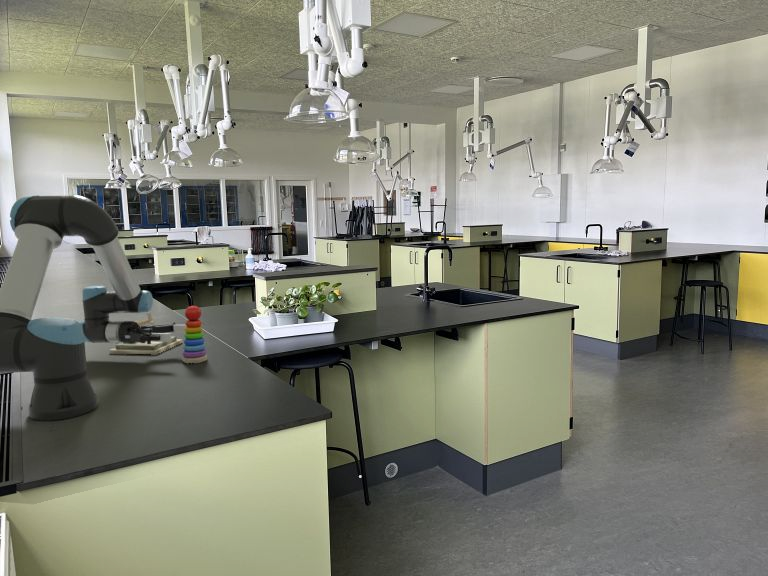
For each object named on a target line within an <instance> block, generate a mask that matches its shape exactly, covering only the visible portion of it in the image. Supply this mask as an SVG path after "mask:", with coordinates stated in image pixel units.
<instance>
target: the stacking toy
mask: <svg viewBox="0 0 768 576" xmlns="http://www.w3.org/2000/svg"><path fill="white" fill-rule="evenodd" d="M201 315H202V310H201V309H200V308H199V306H197V305H196V306H195V305H190V306H188V307H187V308H186V309H185V312H184V316H185V317H186V319H187V320H186V321H185V323H184V325H186V326H187V327H186V328H185V332H186V333H184V338H185V339H184V340H183V343H184V345H183V351H182V352H181V353H182V356H183V357H182V358H181V360H182V362H184V364H189V363H191V365H192V363H194V364H201V363H204V362H206V361H207V360H208V355H207V350H206V344H205V339H204V332H203V327H202V326H201V325H202V320H200V318H201Z"/></svg>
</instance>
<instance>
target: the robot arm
mask: <svg viewBox="0 0 768 576" xmlns="http://www.w3.org/2000/svg"><path fill="white" fill-rule="evenodd" d="M9 218H10V220H9V223H10V225H9V226H10V227H11V230H12V231H13V232H14V235H15V237H16V239H17V243H16V245H15V248H14V251H13V253H12V256H11V259H10V260H9V261H10V262H9V265H8V267H7V270H6V273H5V276H4V278H3V280H2V281H3V282H2V285H1V287H0V374H7V373H28V372H30V373H31V372H32V374H33V385H34V386H33V388H32V389H33V390H32V393H31V398H30V403H29V405H28V415H29V418H30V419H32V420H33V421H34V420H35V421H45V422H46V421H58V420H60V421H61V420H66V419H71V418H74V417H79V416H81V415H85V414H87V413H89V412H92V411H93V410H95V409H97V408H98V404H99V402H98V395H97V394H96V393H95V391H94V388H93V386H92V384H91V382H90V379H89V377H88V367H87V356H86V355H87V354H86V344H85V343H93V344H96V343H99V344H100V343H103V344H105V343H110V344H113V343H114V344H115V345H117V344H119V343H135V342H139V343H146V342H147V344H151V340H152V342H172V340H171V336H172V333H177V334H178V333H180V334H185V333H186V332H185V328H186V327H187V326H186V324H177V322H172V323H161V324H154V325H150V324H146V325H143V326H141V327H139V325H138V324H137V323H136V322H135V321H136V320H110V314H111V315H112V314H140V313H142V314H143V313H148V312H151V310H152V308H153V304H154V303H153V302H154V299H153V294H152V292H150V291H149V290H144V289H143V290H141V287H140V285H139V283H138V281H137V278H136V276H135V274H134V272H133V270H132V267H131V265H130V262H129V260H128V258H127V255H126V253H125V251H124V248H123V247H122V244H121V242H120V240H119V235H120V234H119V231H120V230H119V229H118V226H117V224H116V222H115V221H114V219H113V217H112V216H111V215H110V214H109V213H108V212H107V211H106V210H105V209H104V208H103V207H102V206H101V205H99V204H98V203H96V202H95V201H93V200H92V199H90V198H88V197H84V196H82V195H75V194H73V195H72V194H71V195H31V196H23V197H20V198H19V199H17V200H16V201H15V202H14V203H13V205H12V206H11V209H10V212H9ZM75 236H76V237H81V238H83V240H84V241H85V243H86V244H87V245H89V246H91V247H92V249H93V251H94V252H95V253H94V254H96V256H97V259H98V260H99V263H100V264H101V267H102V268H103V271H104V272H105V274H106V276H107V279H108V280H109V283H110V284H111V287H112V288H113V291H108V288H107V286H106V285H105V286H104V285H91V286H86V287H83V288H82V307H83V308H82V309H83V317H84V320H82V321H81V322H79V321H77V320H75V319H71V318H67V317H66V318H65V317H42V318H41V317H40V318H34V319H32V318H33V314H34V310H35V308H36V306H37V305H36V304H37V301H38V297H39V295H40V292H41V288H42V287H43V283H44V279H45V277H46V272H47V269H48V267H49V263H50V260H51V258H52V257H51V256H52V254H53V251H54V250H55V249H58V248H60V246H61V245H62V241H63V239H64V237H75Z"/></svg>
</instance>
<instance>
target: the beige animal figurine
mask: <svg viewBox="0 0 768 576" xmlns="http://www.w3.org/2000/svg"><path fill="white" fill-rule="evenodd" d="M146 315H147V319H146V320H134V321H135V322H136V323H137V324H138V325H139V327H141V326H147V324H149V325H155V320H154V317H153V315H152V312H151V311H149V312H146Z"/></svg>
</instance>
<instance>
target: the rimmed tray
mask: <svg viewBox="0 0 768 576" xmlns="http://www.w3.org/2000/svg"><path fill="white" fill-rule="evenodd" d="M171 340H172V342H152V340H151V344H147V342H146V343H139V342H135V343H118V344H115V347H114V348H111V349H109V350H108V351H109V355H127V354H151V355H150V356H157V354H158V355H160V354H162V353H164V352H167V351H169V350H171V349H173V348H175V347H177V346H176V345H178V346H180V345H182V344H183V339H178V338H177V336H176V335H175V336H172V335H171ZM181 343H182V344H181ZM179 344H180V345H179ZM174 346H175V347H174ZM172 347H173V348H172ZM170 348H171V349H170ZM168 349H169V350H168ZM166 350H167V351H166ZM163 351H164V352H163ZM161 352H162V353H161ZM159 353H160V354H159Z"/></svg>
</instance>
